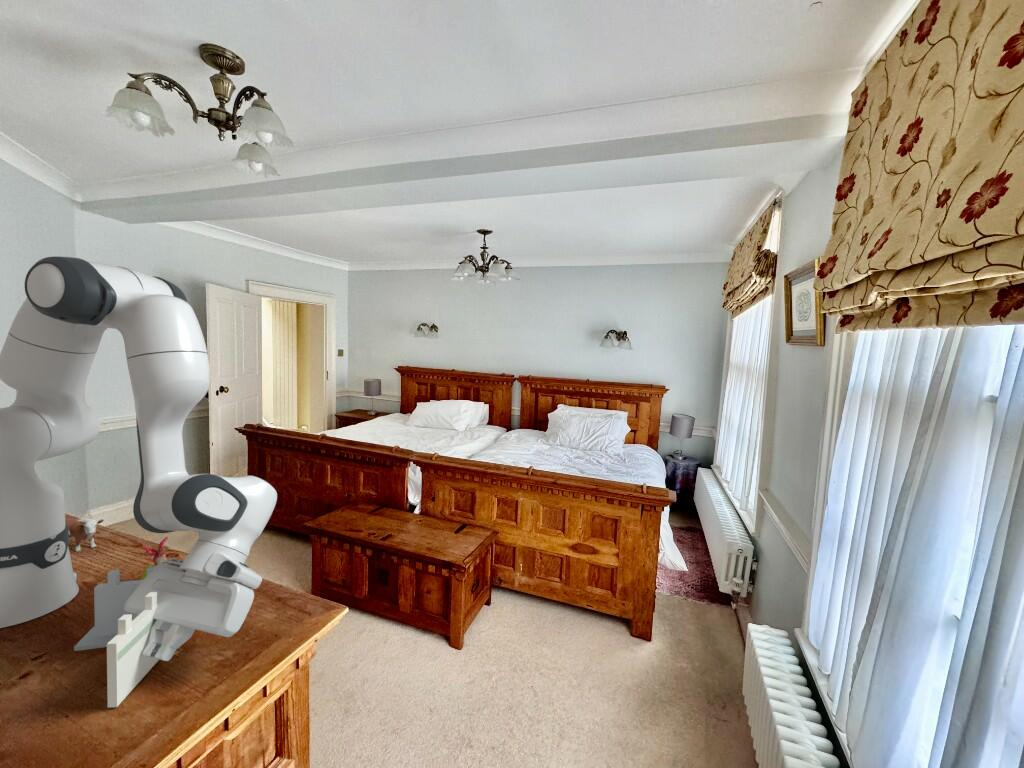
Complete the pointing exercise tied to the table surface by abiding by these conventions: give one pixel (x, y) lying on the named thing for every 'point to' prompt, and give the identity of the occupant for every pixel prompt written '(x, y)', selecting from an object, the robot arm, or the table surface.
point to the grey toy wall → (108, 610)
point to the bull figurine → (82, 530)
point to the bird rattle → (155, 556)
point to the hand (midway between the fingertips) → (155, 658)
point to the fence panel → (132, 651)
